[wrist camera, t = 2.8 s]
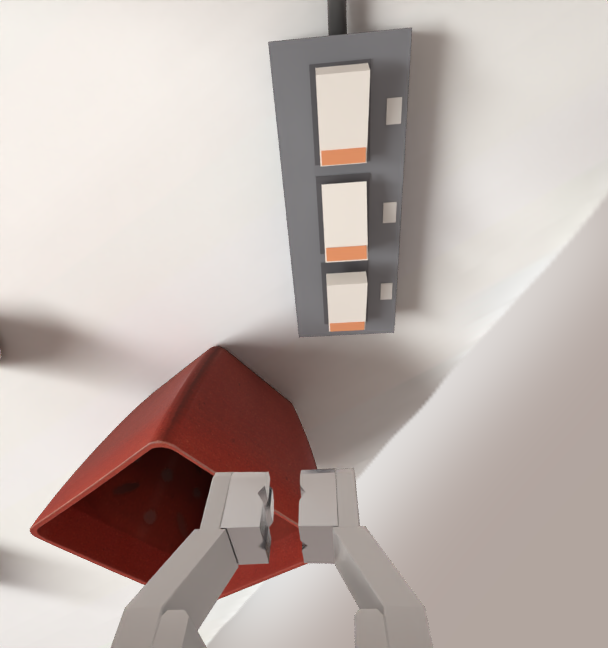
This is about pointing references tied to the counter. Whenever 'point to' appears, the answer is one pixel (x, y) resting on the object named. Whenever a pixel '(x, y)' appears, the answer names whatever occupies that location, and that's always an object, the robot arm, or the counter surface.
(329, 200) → the rocker
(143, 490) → the plant pot
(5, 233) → the counter surface
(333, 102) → the block
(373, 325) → the rocker switch panel
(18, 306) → the counter surface
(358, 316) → the rocker
